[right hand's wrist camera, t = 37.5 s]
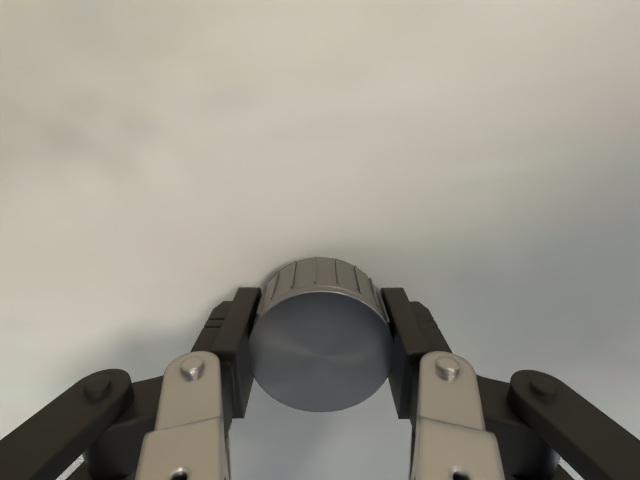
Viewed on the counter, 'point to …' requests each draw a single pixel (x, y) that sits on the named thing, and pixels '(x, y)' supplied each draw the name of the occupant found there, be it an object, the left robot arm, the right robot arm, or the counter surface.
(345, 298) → the cap
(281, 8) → the counter surface
